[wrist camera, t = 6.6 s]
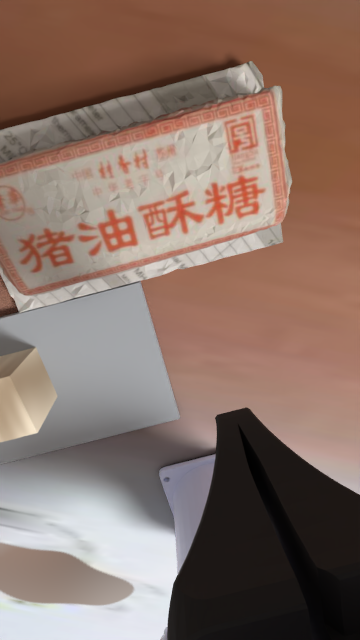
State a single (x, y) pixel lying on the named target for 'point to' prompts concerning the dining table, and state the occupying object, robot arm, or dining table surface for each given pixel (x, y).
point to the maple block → (23, 394)
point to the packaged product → (142, 186)
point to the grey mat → (92, 369)
